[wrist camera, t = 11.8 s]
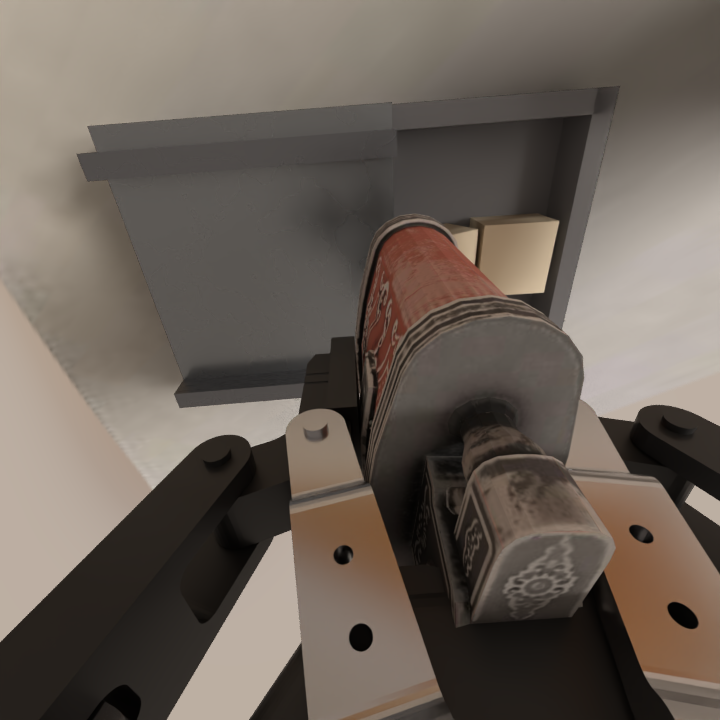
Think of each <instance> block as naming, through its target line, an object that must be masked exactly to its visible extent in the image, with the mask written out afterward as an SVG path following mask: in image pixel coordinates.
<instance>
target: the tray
mask: <svg viewBox="0 0 720 720" xmlns="http://www.w3.org/2000/svg"><path fill="white" fill-rule="evenodd" d="M619 88H620V86H616V87H603V88H591V89H578V90H565V91H553V92H540V93H527V94H515V95H502V96H489V97H477V98H464V99H451V100H439V101H426V102H413V103H400V104H392V129H397V157H393V193H394V218H396V217H398V216H400V215H408V214H420V215H425V216H430V217H431V218H433V219H435V220H436V221H438V222H440V223H441V224H445V223H449V224H454V225H459V226H465V227H470V218H471V217H487V216H503V215H519V214H535V213H538V214H541V215H544V216H547V217H549V218H552V219H555V220H558V221H559V225H558V230H557V234H556V239H555V244H554V248H553V253H552V257H551V262H550V267H549V271H548V276H547V280H546V285H545V290H544V293H529V294H514V295H506V296H507V297H508V298H511V299H517V300H521V301H523V302H524V303H526V304H528V305H530V306H531V307H533V308H535V309H537V310H538V311H540V312H542V313H543V314H544V315H545V316H547V317H548V318H549V319H550V320H551V321H552V322H553V323H555V324H556V325H557V326H558V327H559V328H560V329H561V330H562V326H563V322H564V318H565V314H566V310H567V305H568V301H569V297H570V293H571V289H572V284H573V280H574V276H575V272H576V268H577V263H578V259H579V255H580V251H581V247H582V243H583V238H584V234H585V230H586V226H587V222H588V217H589V213H590V209H591V205H592V201H593V197H594V192H595V188H596V184H597V180H598V176H599V171H600V167H601V163H602V159H603V155H604V151H605V146H606V142H607V138H608V134H609V130H610V125H611V121H612V117H613V113H614V109H615V105H616V100H617V96H618V92H619Z"/></svg>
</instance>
